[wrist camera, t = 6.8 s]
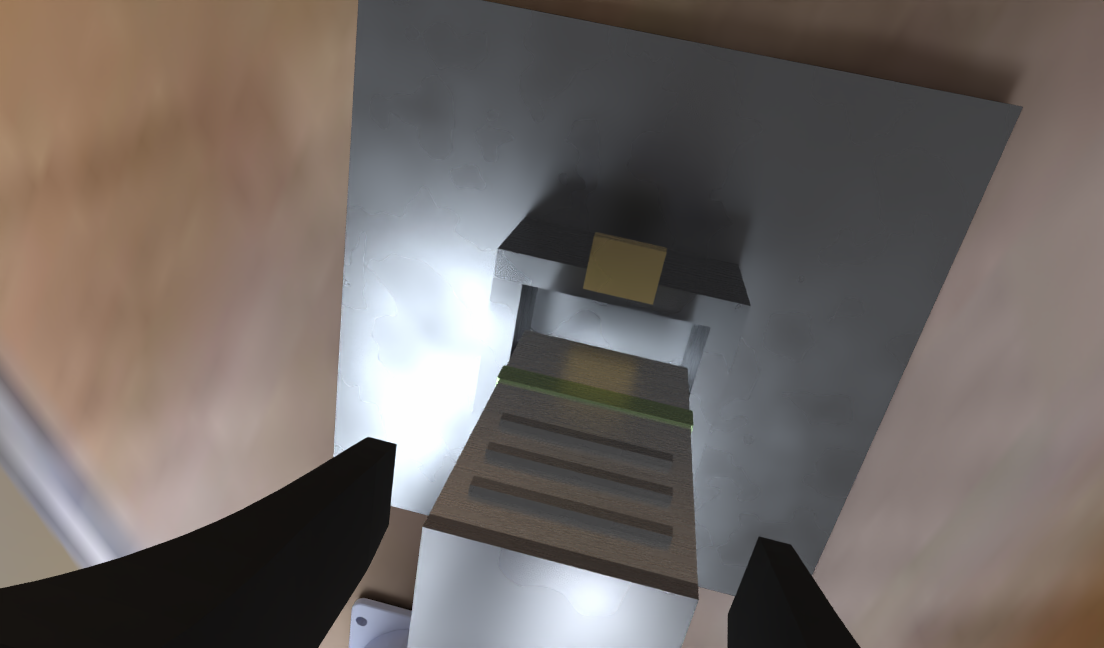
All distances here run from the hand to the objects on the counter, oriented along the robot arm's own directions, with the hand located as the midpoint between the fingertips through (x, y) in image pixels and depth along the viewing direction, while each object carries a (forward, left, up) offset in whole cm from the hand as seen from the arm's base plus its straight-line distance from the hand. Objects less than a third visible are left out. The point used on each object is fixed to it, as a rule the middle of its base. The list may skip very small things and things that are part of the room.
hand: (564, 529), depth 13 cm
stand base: (0, 0, -10) cm, 10 cm away
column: (0, 0, -4) cm, 4 cm away
